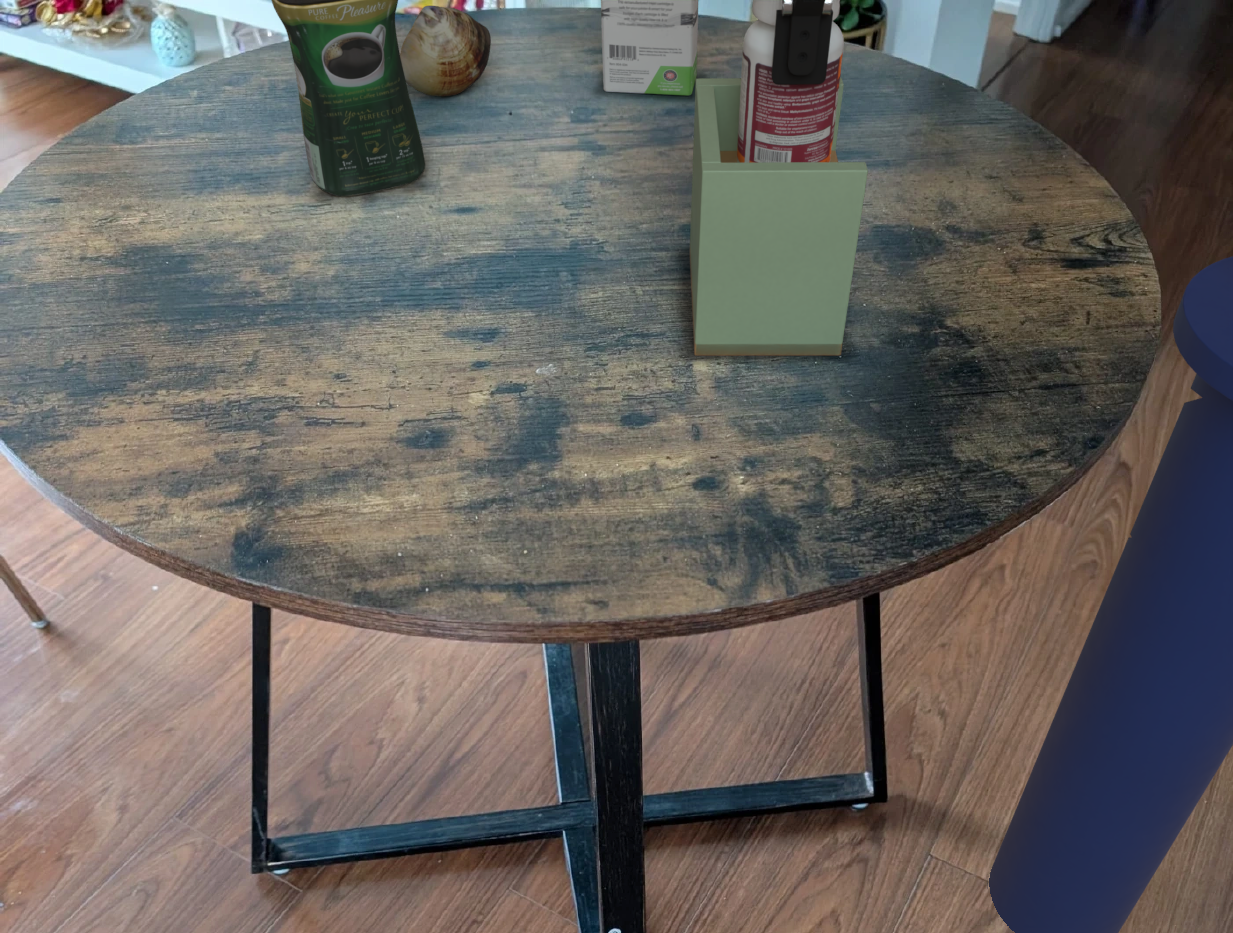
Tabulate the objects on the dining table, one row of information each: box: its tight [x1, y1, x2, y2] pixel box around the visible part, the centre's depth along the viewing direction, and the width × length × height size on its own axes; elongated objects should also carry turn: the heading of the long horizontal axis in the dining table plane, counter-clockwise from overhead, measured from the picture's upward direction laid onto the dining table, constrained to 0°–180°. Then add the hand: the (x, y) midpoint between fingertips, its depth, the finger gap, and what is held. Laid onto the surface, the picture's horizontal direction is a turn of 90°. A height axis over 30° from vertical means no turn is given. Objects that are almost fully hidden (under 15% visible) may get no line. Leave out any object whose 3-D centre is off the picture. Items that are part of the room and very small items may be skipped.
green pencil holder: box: [689, 77, 869, 356], centre depth 79 cm, size 10×14×13 cm
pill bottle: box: [737, 0, 845, 163], centre depth 73 cm, size 6×6×11 cm
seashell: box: [400, 5, 492, 97], centre depth 107 cm, size 10×6×8 cm, turn 127°
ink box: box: [600, 0, 699, 96], centre depth 107 cm, size 9×5×12 cm, turn 80°
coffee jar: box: [271, 0, 426, 197], centre depth 92 cm, size 10×8×19 cm
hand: (793, 56), depth 72 cm, fingers closed on pill bottle, 6 cm apart
